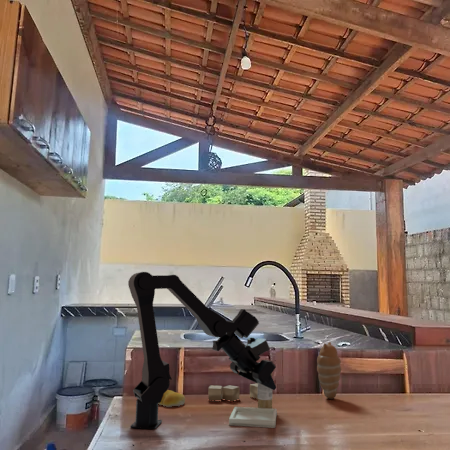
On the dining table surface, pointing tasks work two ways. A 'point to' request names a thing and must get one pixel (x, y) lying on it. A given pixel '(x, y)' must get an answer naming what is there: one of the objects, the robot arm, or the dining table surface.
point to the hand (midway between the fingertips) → (268, 386)
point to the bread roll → (172, 399)
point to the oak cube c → (254, 390)
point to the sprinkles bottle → (264, 396)
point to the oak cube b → (230, 393)
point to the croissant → (329, 370)
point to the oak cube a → (215, 393)
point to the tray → (253, 417)
